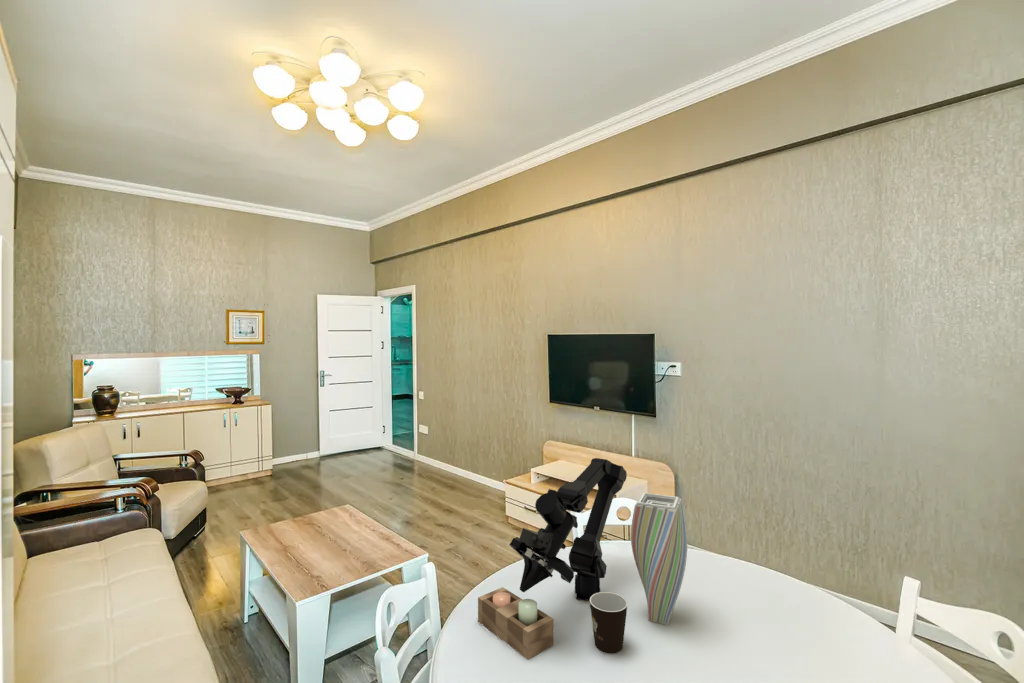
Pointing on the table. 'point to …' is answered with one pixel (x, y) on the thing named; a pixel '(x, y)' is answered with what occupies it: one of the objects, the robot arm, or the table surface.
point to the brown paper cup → (608, 621)
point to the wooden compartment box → (516, 625)
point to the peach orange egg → (501, 599)
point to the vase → (659, 551)
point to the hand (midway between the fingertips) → (521, 591)
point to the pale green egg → (527, 611)
